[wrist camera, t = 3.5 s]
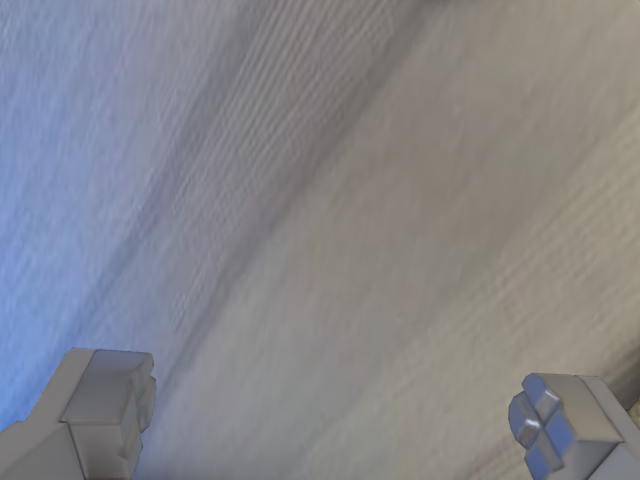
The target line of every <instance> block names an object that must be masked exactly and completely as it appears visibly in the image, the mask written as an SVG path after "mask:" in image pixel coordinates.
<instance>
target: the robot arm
mask: <svg viewBox="0 0 640 480" xmlns="http://www.w3.org/2000/svg"><path fill="white" fill-rule="evenodd" d="M153 366H154V362H153V356H152V354H151V353H143V352H130V351H117V350H105V349H88V348H74V347H72V348H71V349H70V350H69V351H68V352H67V353H66V354H65V355H64V357H63V358H62V360H61V362H60V363H59V365H58V367H57V368H56V370H55V372H54V374H53V375H52V377H51V379H50V380H49V382H48V384H47V385H46V387H45V389H44V390H43V392H42V394H41V396H40V397H39V399H38V401H37V402H36V404H35V406H34V407H33V409H32V411H31V412H30V414H29V416H28V418H27V419H26V421H16V422H14V423H13V424H12V425H10V426H9V427H7V428H6V429H4V430H3V431H2V432H0V480H132V479H133V476H134V473H135V470H136V467H137V463H138V460H139V457H140V454H141V451H142V448H143V445H142V438H141V433H142V432H143V431H144V430H145V429H147V428H148V427H149V426H150V422H151V419H152V416H153V412H154V407H155V401H156V379H155V378H153V377H152V376H151V372H152V369H153ZM522 387H523V389H524V391H522V392H521V393H519V394H517V395H516V396H514V397H513V399H512V401H511V403H510V405H509V415H508V419H509V424H510V428H511V431H512V433H513V435H514V438H515V440H517V441H518V442H519V443H520V444H521V445H522V446H523V447H524V448H525V449H526V453H525V457H524V460H525V462H526V464H527V466H528V468H529V471H530V473H531V475H532V477H533V479H534V480H640V430H639V429H638V427H637V426H636V425H635V423H634V422H633V420H632V419H631V418H630V416H629V415H628V414H627V412H626V411H625V409H624V408H623V407H622V405H621V404H620V403H619V401H618V400H617V398H616V397H615V396H614V394H613V393H612V392H611V390H610V389H609V388H608V386H607V385H606V383H605V382H604V381H603V380H601V379H600V378H599V377H597V376H580V375H567V374H542V373H531V374H529V375H528V376H526V377H525V379H524V380H523V382H522Z"/></svg>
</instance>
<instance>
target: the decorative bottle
mask: <svg viewBox="0 0 640 480" xmlns="http://www.w3.org/2000/svg"><path fill="white" fill-rule="evenodd" d="M626 412H627V414H628V415H629V416H630V418H631V419H632V420H633V422H634V423H635V425H636V426H637V427H638V429H639V430H640V396H639V399H638V400H637V401H636V403H635V404H634V405H633V407H632V408H630V409H628V410H627V411H626Z"/></svg>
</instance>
